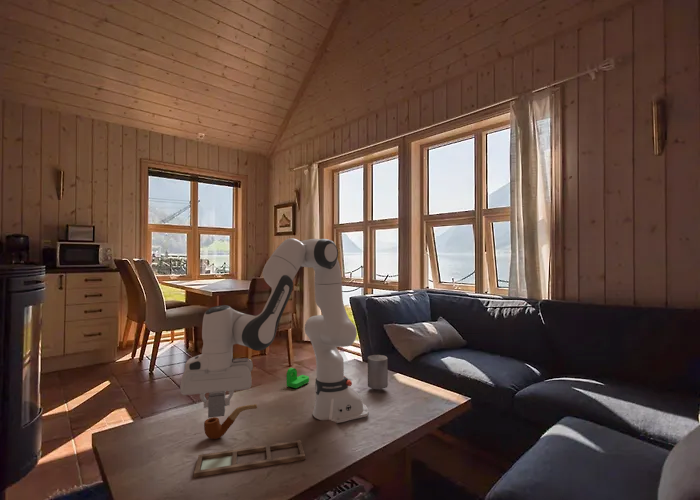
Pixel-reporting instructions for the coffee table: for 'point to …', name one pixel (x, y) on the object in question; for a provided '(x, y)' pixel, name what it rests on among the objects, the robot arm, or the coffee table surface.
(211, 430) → the smoking pipe
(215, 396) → the gray rectangular block
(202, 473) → the divided wooden frame
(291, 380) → the mechanical part
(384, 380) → the pillar candle
